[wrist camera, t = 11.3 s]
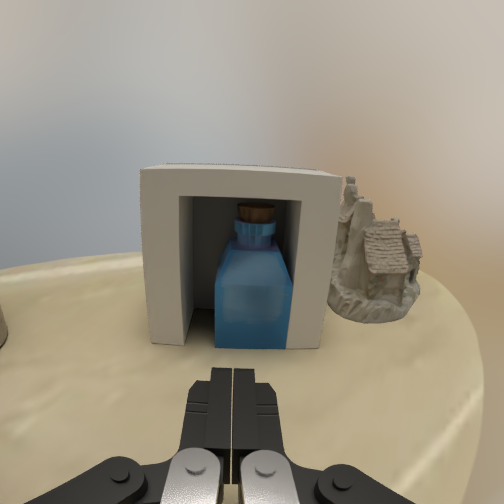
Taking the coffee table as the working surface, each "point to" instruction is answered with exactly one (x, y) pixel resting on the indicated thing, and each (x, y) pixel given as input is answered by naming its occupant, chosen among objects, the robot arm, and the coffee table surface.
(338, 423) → the coffee table surface
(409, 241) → the ceramic cottage
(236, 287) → the perfume bottle
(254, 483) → the robot arm
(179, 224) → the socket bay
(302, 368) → the coffee table surface
